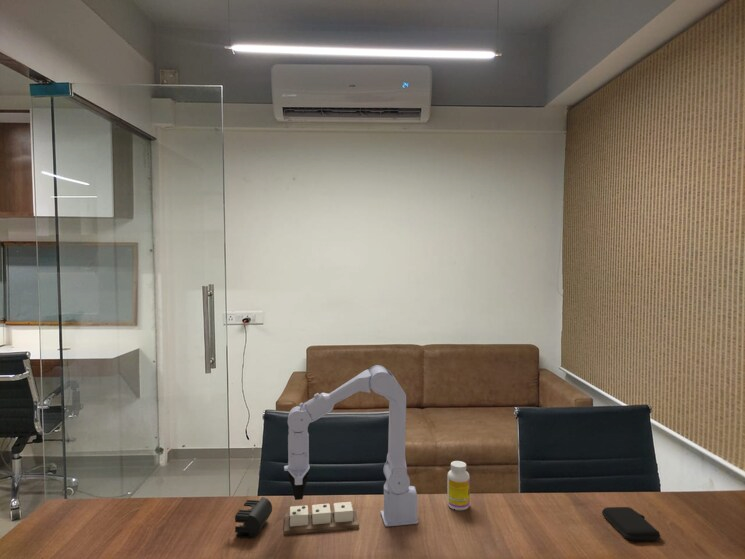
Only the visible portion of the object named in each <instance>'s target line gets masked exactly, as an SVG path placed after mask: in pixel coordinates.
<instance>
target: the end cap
mask: <svg viewBox="0 0 745 559" xmlns="http://www.w3.org/2000/svg"><path fill="white" fill-rule="evenodd" d="M243 507H250V508H248V509H239V510H238V511H237V512H236V514H235V516H234V523H238V524H239V523H241V524H242V523H243V525H237V526H236V525H235V527H234V532H235V533H236V534H235V537H236V538H237V539H245V540H246V539H248V540H250V539H253V538H255V537H256V536H257V535H258V534H259V533H260V531H261V529H262V528H263V527H264V525H265V524H266V522H267V521H268V519H269V517H270V516H271V515H272V513H273V505H272V503H271V501H270V500H269V499H268V498H266V497H263V496H262V497H260V499H259V500H256V499H246V501H245V502H244V504H243Z"/></svg>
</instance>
